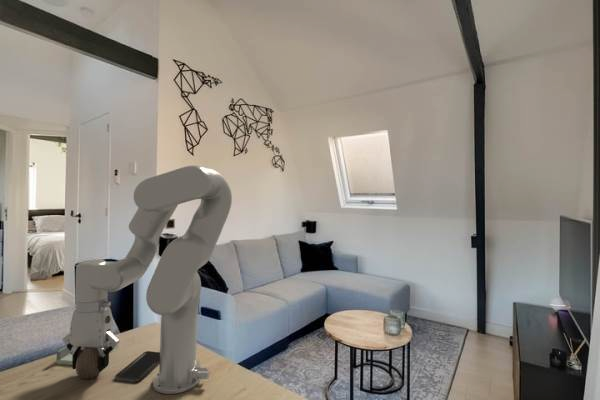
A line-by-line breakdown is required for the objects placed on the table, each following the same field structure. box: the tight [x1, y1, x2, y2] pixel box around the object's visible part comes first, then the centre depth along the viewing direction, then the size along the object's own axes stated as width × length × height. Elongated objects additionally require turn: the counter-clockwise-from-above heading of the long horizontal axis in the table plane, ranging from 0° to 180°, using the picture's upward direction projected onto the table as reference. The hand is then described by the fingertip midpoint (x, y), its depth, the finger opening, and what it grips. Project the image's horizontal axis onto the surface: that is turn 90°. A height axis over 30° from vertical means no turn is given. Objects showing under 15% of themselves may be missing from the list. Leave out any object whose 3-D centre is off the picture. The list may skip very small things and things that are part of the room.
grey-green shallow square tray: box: [56, 341, 119, 366], centre depth 99 cm, size 11×12×4 cm
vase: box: [75, 347, 102, 380], centre depth 89 cm, size 7×7×9 cm
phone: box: [114, 350, 160, 384], centre depth 94 cm, size 8×1×15 cm
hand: (90, 367), depth 89 cm, fingers closed on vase, 6 cm apart
